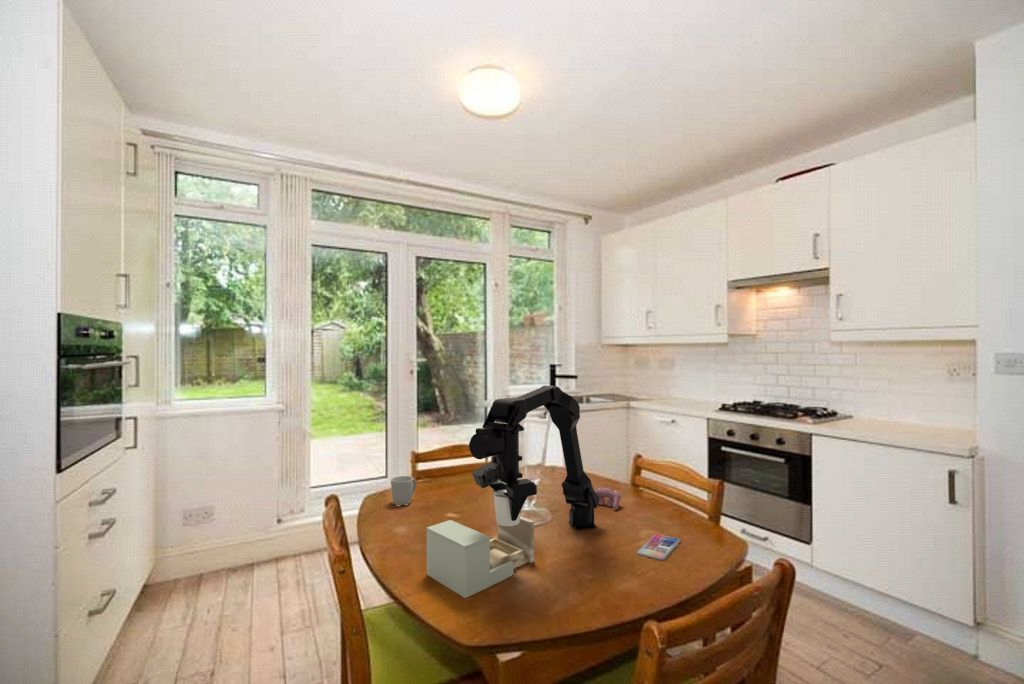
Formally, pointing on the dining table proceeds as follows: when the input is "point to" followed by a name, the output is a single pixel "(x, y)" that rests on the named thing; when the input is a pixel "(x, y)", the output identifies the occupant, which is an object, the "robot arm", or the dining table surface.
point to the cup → (402, 489)
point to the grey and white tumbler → (503, 509)
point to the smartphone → (659, 547)
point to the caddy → (462, 559)
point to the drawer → (513, 544)
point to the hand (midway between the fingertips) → (507, 516)
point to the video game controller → (611, 494)
